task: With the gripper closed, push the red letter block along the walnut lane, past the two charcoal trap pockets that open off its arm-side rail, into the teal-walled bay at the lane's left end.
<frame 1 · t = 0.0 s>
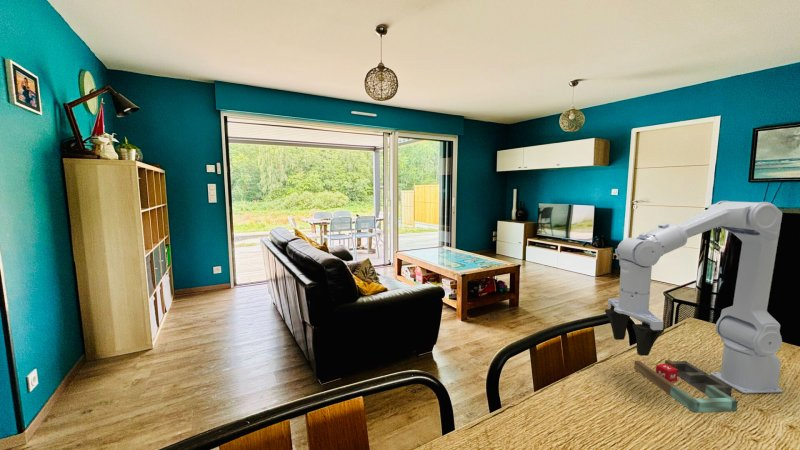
hand: (630, 346, 76), 10 cm above the table, fingers open, 7 cm apart
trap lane: (676, 385, 77), on the table
red letter block: (666, 379, 80), resting in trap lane
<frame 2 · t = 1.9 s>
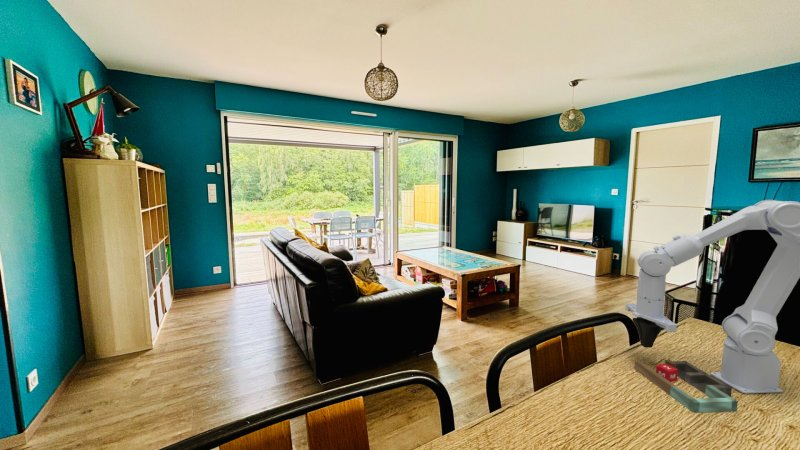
hand: (646, 346, 86), 5 cm above the table, fingers closed
nothing on the table moved.
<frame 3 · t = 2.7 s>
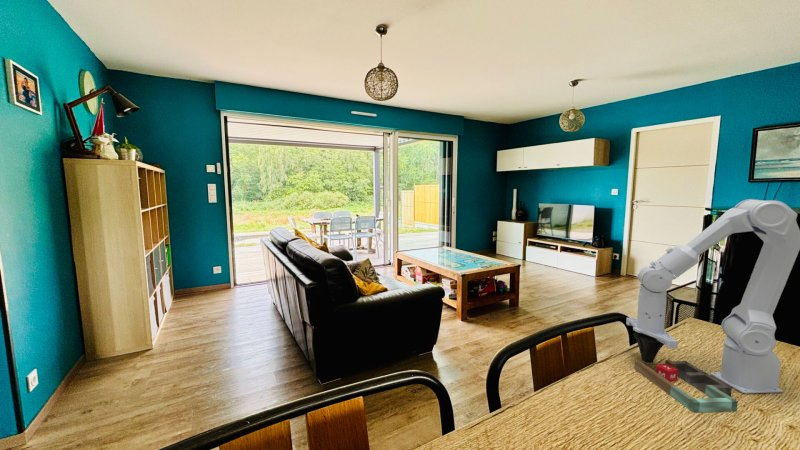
hand: (647, 361, 86), 1 cm above the table, fingers closed
nothing on the table moved.
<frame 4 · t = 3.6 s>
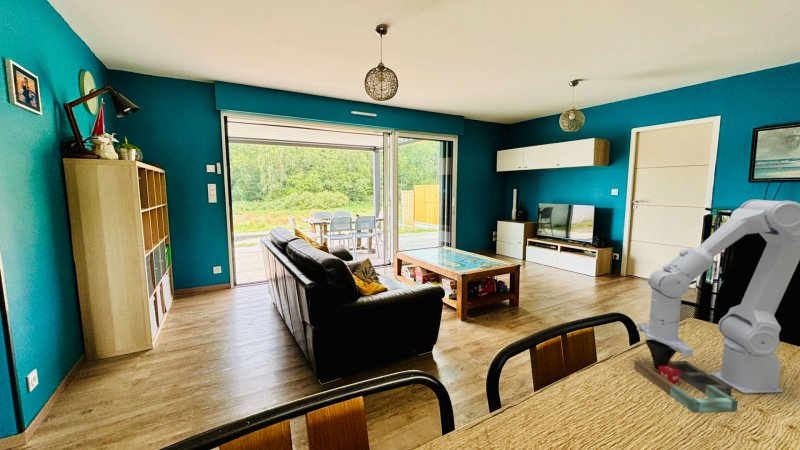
hand: (659, 369, 82), 1 cm above the table, fingers closed
red letter block: (668, 380, 80), resting in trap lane, touching gripper
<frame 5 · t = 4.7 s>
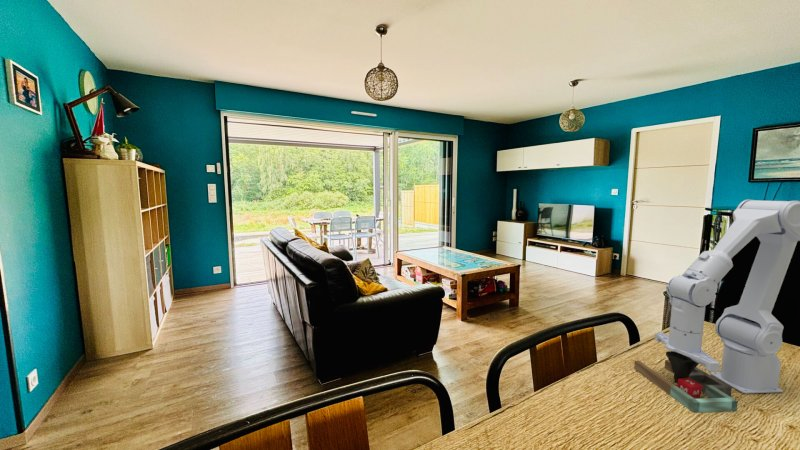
hand: (680, 383, 76), 1 cm above the table, fingers closed, pressing on red letter block
red letter block: (687, 394, 74), resting in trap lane, touching gripper
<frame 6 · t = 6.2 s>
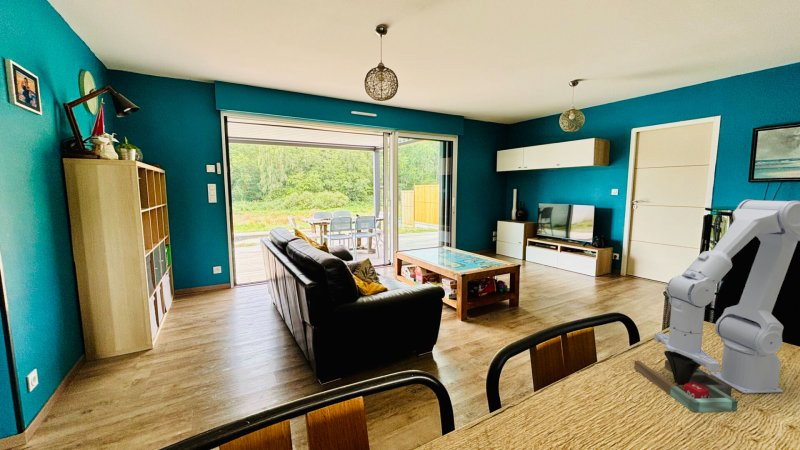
hand: (681, 383, 76), 1 cm above the table, fingers closed
red letter block: (695, 400, 73), resting in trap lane
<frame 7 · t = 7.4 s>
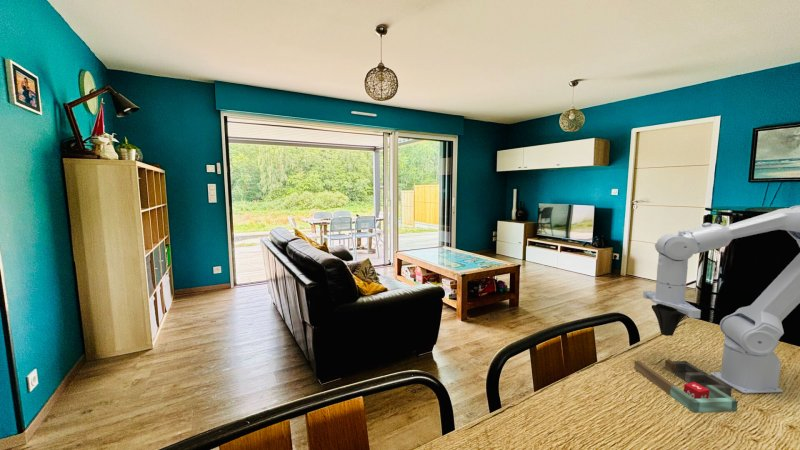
hand: (666, 334, 82), 10 cm above the table, fingers closed
nothing on the table moved.
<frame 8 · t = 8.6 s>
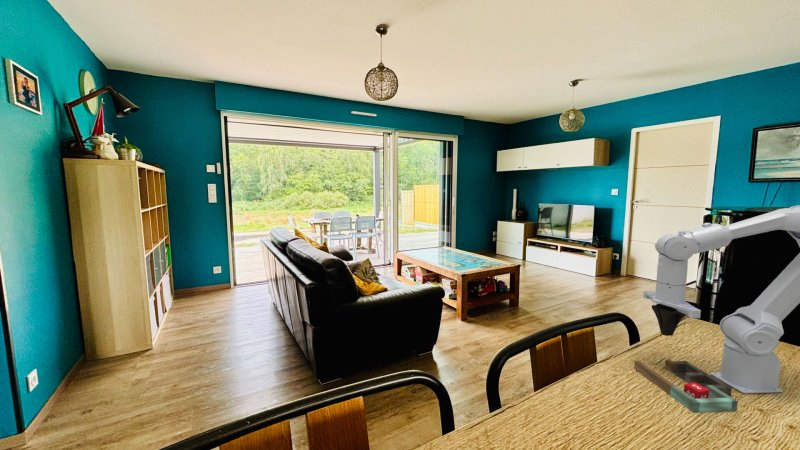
hand: (666, 334, 82), 10 cm above the table, fingers closed
nothing on the table moved.
at the end: red letter block 0.3 cm from the target spot, resting in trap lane; red letter block moved 8.0 cm from its start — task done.
